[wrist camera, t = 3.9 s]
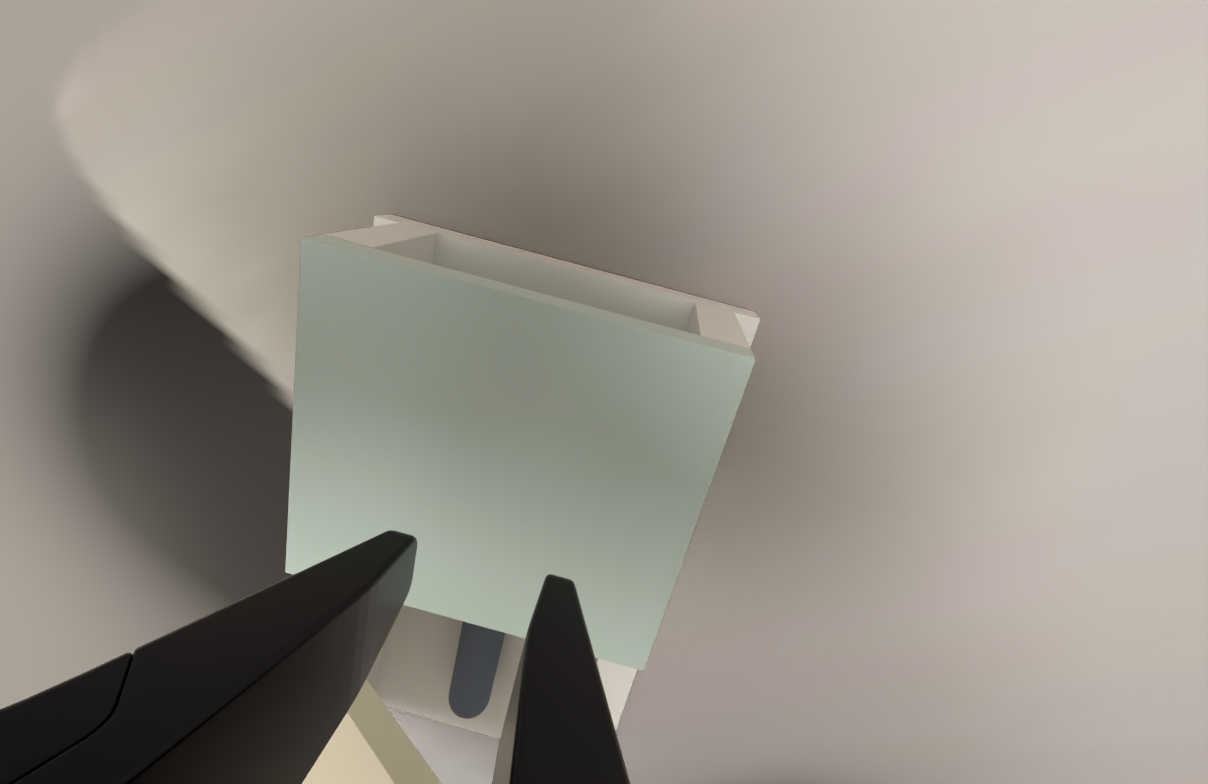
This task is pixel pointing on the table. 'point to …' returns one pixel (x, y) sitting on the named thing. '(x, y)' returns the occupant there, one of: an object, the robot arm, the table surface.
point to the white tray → (430, 641)
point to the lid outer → (502, 440)
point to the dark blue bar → (474, 669)
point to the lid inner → (370, 749)
